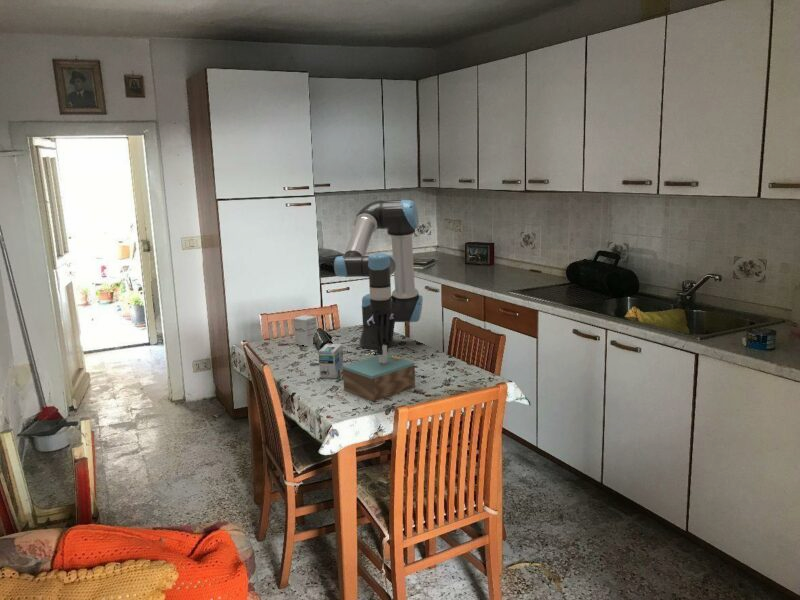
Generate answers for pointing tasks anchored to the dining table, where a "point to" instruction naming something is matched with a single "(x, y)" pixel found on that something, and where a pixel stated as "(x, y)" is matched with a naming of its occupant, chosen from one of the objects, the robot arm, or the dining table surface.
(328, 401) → the dining table surface
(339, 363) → the light bulb box
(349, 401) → the dining table surface
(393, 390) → the walnut chest
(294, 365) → the dining table surface
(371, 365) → the chest lid
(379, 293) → the robot arm
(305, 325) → the supplement box
